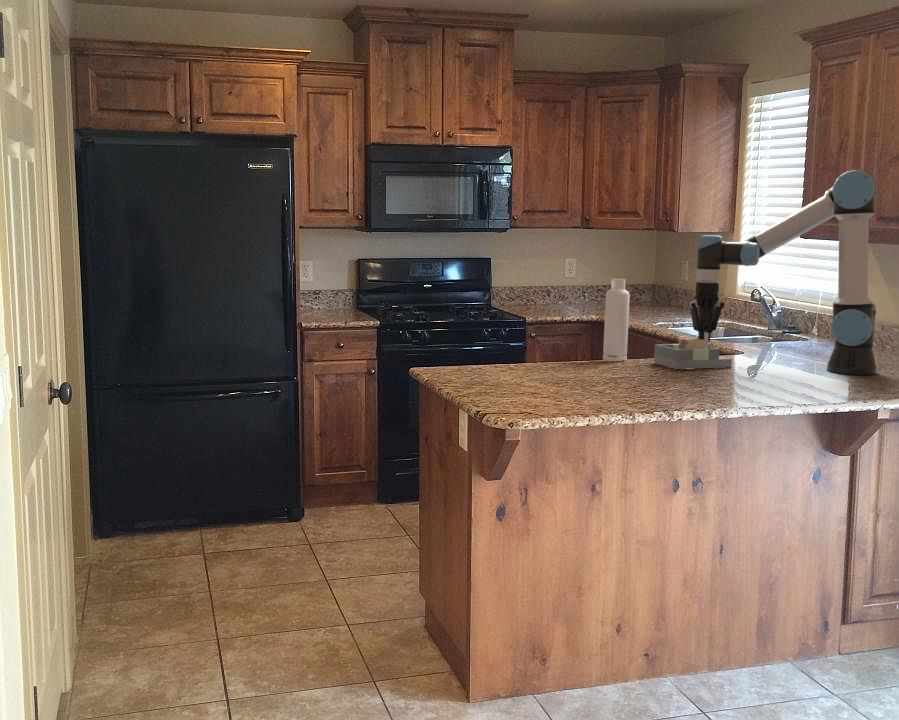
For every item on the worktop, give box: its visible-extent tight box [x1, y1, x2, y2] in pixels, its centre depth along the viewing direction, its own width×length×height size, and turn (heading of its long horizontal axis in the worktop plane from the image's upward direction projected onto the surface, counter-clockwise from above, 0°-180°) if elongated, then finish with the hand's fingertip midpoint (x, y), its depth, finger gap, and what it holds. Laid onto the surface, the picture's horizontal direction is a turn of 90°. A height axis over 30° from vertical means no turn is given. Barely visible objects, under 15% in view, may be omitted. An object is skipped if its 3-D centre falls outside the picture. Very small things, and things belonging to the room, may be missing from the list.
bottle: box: [602, 278, 631, 362], centre depth 337 cm, size 8×8×28 cm
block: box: [678, 337, 705, 349], centre depth 329 cm, size 6×6×6 cm
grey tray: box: [653, 343, 732, 370], centre depth 329 cm, size 14×21×6 cm, turn 109°
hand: (703, 351), depth 331 cm, fingers closed
